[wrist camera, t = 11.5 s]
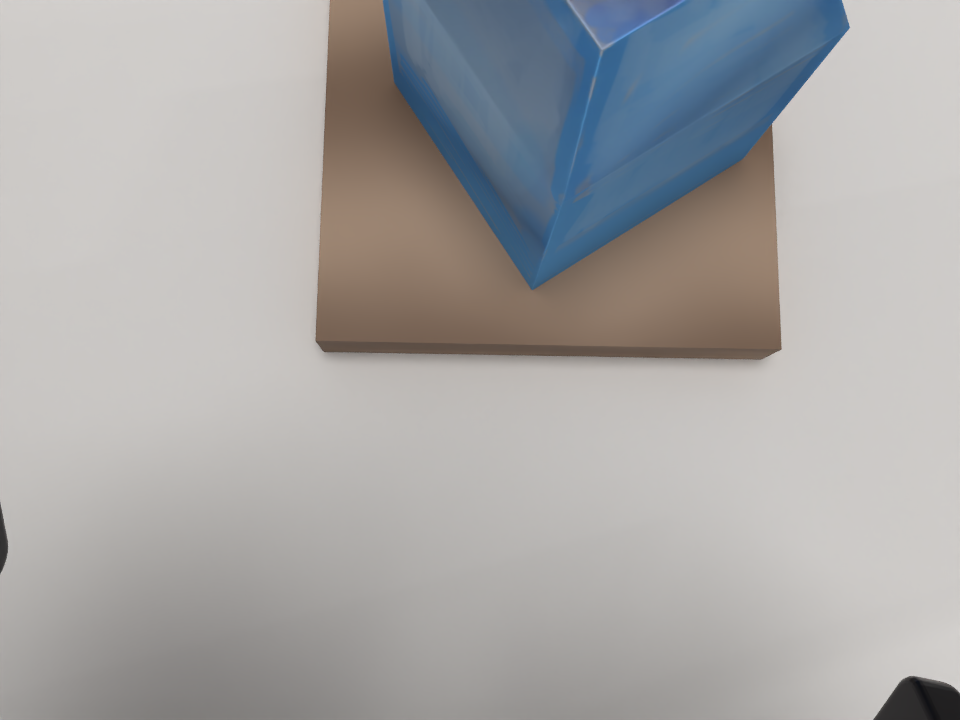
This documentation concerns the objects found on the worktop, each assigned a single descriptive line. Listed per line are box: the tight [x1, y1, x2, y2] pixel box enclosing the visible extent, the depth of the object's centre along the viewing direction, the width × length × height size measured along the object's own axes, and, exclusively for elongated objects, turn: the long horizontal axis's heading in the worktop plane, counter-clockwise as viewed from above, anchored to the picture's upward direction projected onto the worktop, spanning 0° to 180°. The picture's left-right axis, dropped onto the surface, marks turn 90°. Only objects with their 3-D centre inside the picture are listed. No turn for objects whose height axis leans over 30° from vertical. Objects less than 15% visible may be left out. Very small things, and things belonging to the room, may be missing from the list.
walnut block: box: [316, 0, 781, 359], centre depth 24 cm, size 11×11×2 cm
